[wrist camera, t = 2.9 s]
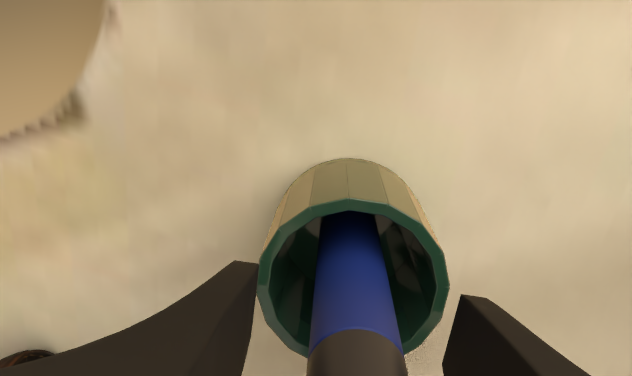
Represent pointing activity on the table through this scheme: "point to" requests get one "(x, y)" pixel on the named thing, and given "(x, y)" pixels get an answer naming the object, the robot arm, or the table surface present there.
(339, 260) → the blue marker
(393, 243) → the tumbler
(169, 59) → the table surface
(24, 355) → the sunglasses case
